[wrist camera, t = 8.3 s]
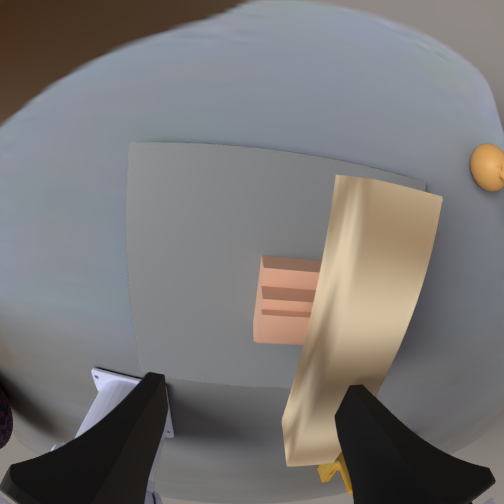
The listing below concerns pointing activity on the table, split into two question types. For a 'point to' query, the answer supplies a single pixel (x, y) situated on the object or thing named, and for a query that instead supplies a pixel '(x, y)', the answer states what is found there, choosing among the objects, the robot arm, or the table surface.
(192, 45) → the table surface
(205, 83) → the table surface
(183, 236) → the board
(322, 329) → the pine batten
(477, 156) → the figurine
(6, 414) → the toy ball
